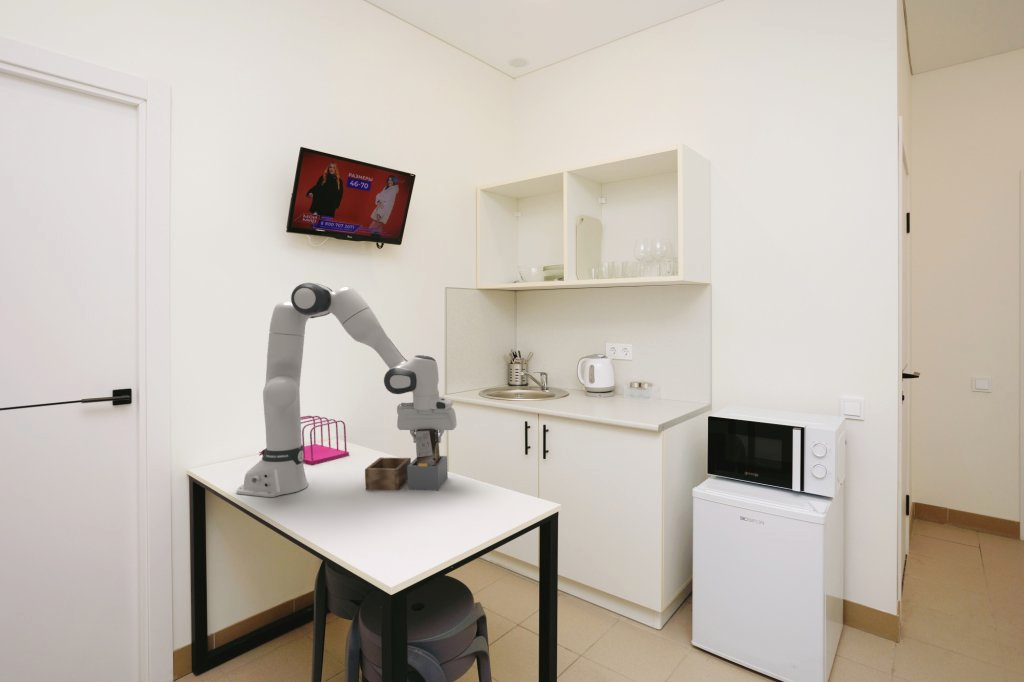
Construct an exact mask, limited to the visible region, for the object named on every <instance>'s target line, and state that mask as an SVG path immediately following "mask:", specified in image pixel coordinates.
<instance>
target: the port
mask: <svg viewBox="0 0 1024 682" xmlns="http://www.w3.org/2000/svg"><path fill="white" fill-rule="evenodd" d="M407 472H408V481H407V490H408V491H437V492H438V491H440V489H441V488H442V486H443V485H444V484H445V482H446V481H447V480H448V476H449V475H448V455H440V461H439V462H438V463H437V464H436V465H435V466H428V463H419V464H418V465H417V457H415V459H413V461H411V463H410V464H409V465H408V466H407ZM446 479H447V480H446Z"/></svg>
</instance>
